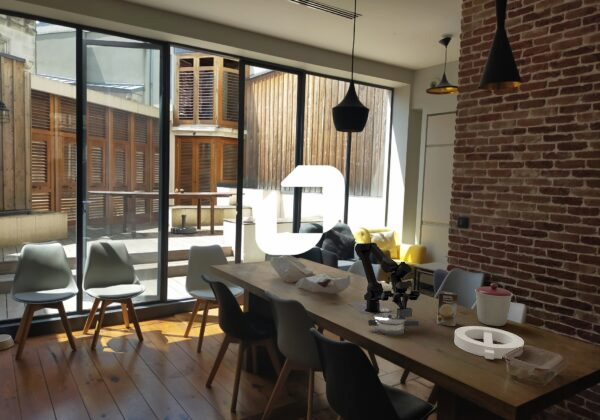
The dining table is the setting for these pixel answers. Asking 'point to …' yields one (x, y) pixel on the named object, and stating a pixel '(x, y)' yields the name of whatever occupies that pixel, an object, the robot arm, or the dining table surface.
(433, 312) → the dining table surface
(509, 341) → the ring with crossbar
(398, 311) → the lid
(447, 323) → the coffee box
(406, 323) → the pot
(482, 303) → the canister
